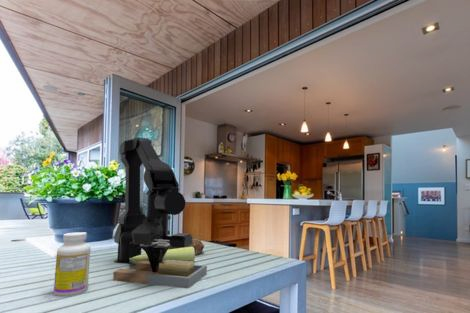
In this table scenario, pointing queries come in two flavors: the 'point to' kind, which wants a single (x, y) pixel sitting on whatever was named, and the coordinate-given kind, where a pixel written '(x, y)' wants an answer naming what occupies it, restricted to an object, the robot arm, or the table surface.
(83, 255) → the supplement bottle
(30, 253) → the table surface
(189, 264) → the brass block
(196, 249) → the donut
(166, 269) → the brass block
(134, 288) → the table surface
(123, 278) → the slot board
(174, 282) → the tray
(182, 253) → the tube
